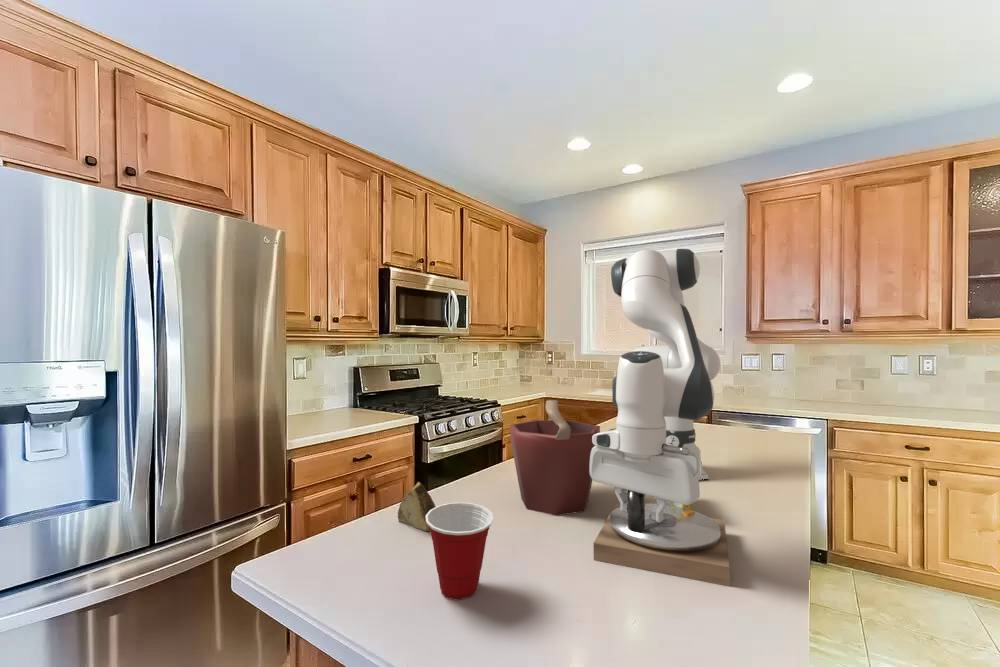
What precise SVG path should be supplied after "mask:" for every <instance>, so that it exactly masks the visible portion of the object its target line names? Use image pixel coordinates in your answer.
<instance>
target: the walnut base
mask: <svg viewBox="0 0 1000 667" xmlns="http://www.w3.org/2000/svg"><path fill="white" fill-rule="evenodd" d="M619 507H620V504H614V506H613V508H612V510H611V511H610V513H609V514H608V517H607V519H606V520H605V522H604V523H603V526H602V527H601V529H600V531H599V533H598V534H597V536H596V538H595V540H594V542H593V561H598V562H604V563H609V564H614V565H619V566H624V567H627V568H628V567H629V568H634V569H640V570H644V571H650V572H654V573H659V574H665V575H671V576H675V577H681V578H686V579H689V580H695V581H702V582H707V583H712V584H717V585H722V586H728V587H731V569H730V560H729V557H730V556H729V551H728V550H729V549H728V541H727V532H726V525H725V519H720V518H714V517H710V518H711V519H712V520H714V521H715V522H716V523H717V524H718V525H719V527H720V535H721V538H720V541H719V542H718V543H717V544H716V545H714V546H712V547H709V548H706V549H701V550H692V551H676V550H665V549H658V548H653V547H649V546H645V545H641V544H638V543H635V542H632V541H630V540H627V539H625V538H623V537H622V536H620V535H618V534H617V533H616V532H615V531H614V530H613V529H612V528H611V526H610V514H611V512H612V511H613V510H615V509H616V508H619Z"/></svg>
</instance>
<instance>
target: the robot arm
mask: <svg viewBox="0 0 1000 667" xmlns="http://www.w3.org/2000/svg"><path fill="white" fill-rule="evenodd" d="M699 262H700V261H699V260H698V258H697V256H696V254H695V252H693V251H692V250H691V249H688V248H677V249H675V250H673V249H672V250H671V249H669V250H660V251H657V250H655V249H649V248H648V249H642V250H639V251H637V252H635V253H633V254H632V255H631V256H630V257H629V258H626V257H625V258H622V259H619V260H617V261H615V262H614V264H613V265H612V266H611V269H610V274H609V276H610V277H609V280H610V281H609V282H610V286H611V288H612V290H613V292H614V294H616V295H617V296H618V297H620V298H621V299H620V300H621V309H622V312H623V314H624V315H625V317H626V318H627V319H628V320H629V321H630V322H631V323H633V324H634V325H636V326H638V327H639V328H642V329H645V330H647V332H648V333H649V334H650V336H651V337H652V338H654V339H656V340H659V341H660V342H662V343H664V344H650V345H644V346H638V347H636V348H635V349H633V351H629V352H624V353H623V354H621V355H620V356H619V360H618V365H617V371H616V375H615V377H613V379H612V381H611V382H612V385H611V386H612V393H611V394H612V399H611V400H612V404H613V405H614V407H616V408H617V415H616V420H615V428H610V429H608V430H605V431H600V433H597V434H594V435H593V436H592V442H593V444H594V445H595V446H594V447H593V448H592V450H591V454H590V476H591V478H592V482H595V483H600V484H604V485H608V486H612V487H613V488H614V493H615V496H616V497H617V500H618V502H620V504H619V505H620V510H621V511H622V512H626V513H628V496H627V494H626V492H628V490H630V491H634V492H638V493H642V494H645V495H646V496H649V497H655V498H656V499H655V500H656V504H659V506H658V508H657V509H656V508H655V509H654V510H652V511H651V520H652V521H656V522H661V521H662V520H663V511H664V509H665V508H666V506H667V505H669V503H670V502H671V501H673V502H677V503H681V504H685V505H690V504H691V505H692V504H694V503H695V502H697V501H698V500H699V498H700V494H701V493H700V492H701V491H700V481H705V480H704V479H708V480H710V476H709V474H707V472H706V471H705V470H704V468H703V467H702V465H703V462H702V451H701V449H700V448H699V447H698V446H697V444H696V443H695V442H696V436H697V435H696V430H695V428H694V421H699V420H701V419H702V418H704V417H706V416H707V415H708V414H709V413H710V412H712V411H713V409H714V407H713V406H714V404H715V390H714V386H713V383H712V381H713V380H714V379H715V378H716V377H717V375H718V374H719V373H720V369H721V359H720V356H719V355H718V352H717V351H716V350H715V349H714V347H713V348H712V347H711V346H709V345H707V344H706V343H704V342H703V341H702V340H700V339H699V337H698V336H697V333H696V329H695V326H694V323H693V319H692V316H691V313H690V312H689V310H688V308H687V306H686V305H685V300H684V295H683V291H687V290H689V289H691V288H693V287H694V286H695V285H696V284H697V283H698V279H699V276H700V273H701V272H700V271H701V267H700V266H701V265H700V263H699ZM702 479H703V480H702Z"/></svg>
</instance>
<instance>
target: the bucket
mask: <svg viewBox="0 0 1000 667" xmlns="http://www.w3.org/2000/svg"><path fill="white" fill-rule="evenodd" d="M545 411H546V413H547V415H548V416H547V417H548V419H546V420H545V419H533V420H528V421H523V422H516V423H510V424H509V438H510V444H511V448H512V455H513V459H514V464H515V465H514V466H515V471H516V476H517V481H518V488H519V492H520V497H521V499H520V500H522V502H523V505H524V507H525V509H526V510H527V511H529V510H530V511H534V512H538V513H543V514H546V515H547V514H548V515H551V516H561V515H560V514H562V515H567V513H569V514H575V513H574V512H576V513H581V512H580V511H583V512H585V511H584V510H586V509H585V508H587V506H588V504H589V501H590V496H591V490H592V484H593V480H592V478H591V476H590V454H591V450H592V448H593V447H594V446H595V445H594V444H593V442H592V436H593V435H594V434H597V433H600V432H601V426H600V425H596V424H592V423H591V424H590V423H587V422H581V421H576V420H565V418H563V416H562V413H561V412H560V409H559V401H558V400H557V399H555V400H550V399H548V400H546V401H545ZM587 503H588V504H587Z"/></svg>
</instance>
